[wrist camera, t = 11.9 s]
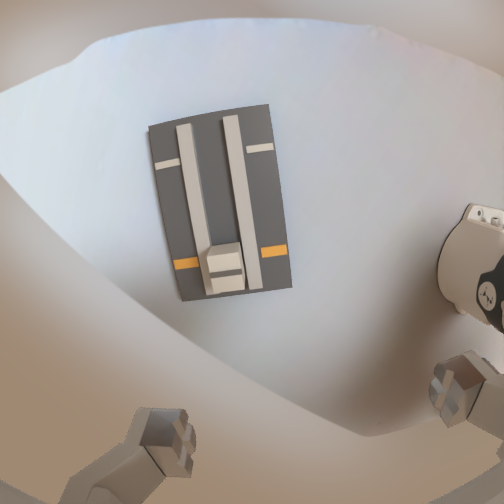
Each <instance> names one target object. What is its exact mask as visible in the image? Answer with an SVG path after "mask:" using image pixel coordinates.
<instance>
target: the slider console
mask: <svg viewBox="0 0 504 504" xmlns="http://www.w3.org/2000/svg"><path fill="white" fill-rule="evenodd" d="M148 127H149V134H150V142H151V149H152V156H153V162H154V168H155V175H156V181H157V186H158V192H159V198H160V203H161V208H162V214H163V219H164V224H165V229H166V234H167V238H168V243H169V248H170V252H171V257H172V261H173V266H174V270H175V274H176V278H177V282H178V286H179V291H180V295H181V298H182V301H191V300H200V299H209V298H217V297H225V296H233V295H241V294H249V293H256V292H263V291H271V290H278V289H285V288H291V287H292V279H291V269H290V260H289V251H288V242H287V234H286V225H285V217H284V209H283V201H282V193H281V186H280V178H279V171H278V164H277V157H276V150H275V143H274V136H273V130H272V123H271V117H270V111H269V104H265V105H257V106H249V107H242V108H235V109H229V110H223V111H217V112H211V113H206V114H201V115H196V116H191V117H186V118H181V119H177V120H172V121H168V122H164V123H160V124H156V125H152V126H148ZM236 242H240V247H241V253H242V259H243V265H244V272H245V289H244V290H237V291H229V292H221V293H214V291H213V287H212V282H211V279H210V275H209V273H210V272H209V267H208V262H207V255H208V252H209V250H210V248H211V246H215V245H222V244H229V243H236Z"/></svg>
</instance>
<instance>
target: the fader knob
mask: <svg viewBox="0 0 504 504" xmlns="http://www.w3.org/2000/svg"><path fill="white" fill-rule="evenodd" d="M207 262H208V267H209V272H210V273H209V275H210V279H211V282H212V287H213V291H214V293H221V292H229V291H237V290H244V289H245V272H244V265H243V259H242V253H241V247H240V242H236V243H229V244H222V245H215V246H211V248H210V250H209V252H208V255H207Z"/></svg>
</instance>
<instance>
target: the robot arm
mask: <svg viewBox="0 0 504 504" xmlns="http://www.w3.org/2000/svg"><path fill="white" fill-rule="evenodd" d="M438 283H439V287H440V290H441V292H442V294H443V296H444V297H445V298H446V299H447V300H449V301H451V302H452V303H454V304H455V307H456V309H457V311H458V312H459V313H460V314H462V315H465V314H467V313H468V314H470V315H471V316H473V317H474V318H476V319H478V320H479V321H481V322H482V323H484V324H486V325H490V324H491V325H493V326H494V328H495V329H496V330H498V331H499V332H502V333H503V334H504V211H503V210H499V209H495V208H491V207H487V206H482V205H478V204H470V205H469V206H468V208H467V209H466V212H465V214H464V216H463V219H462V220H461V222H460V223H459V224H458V225H457V226H456V228H455V229H454V230H453V231H452V232H451V234H450V235H449V237H448V238H447V240H446V242H445V244H444V246H443V249H442V252H441V255H440V259H439V264H438ZM434 375H435V376H436V377H435V378H434V379H433V380H432V382H431V383H430V387H429V397H430V400H431V403H432V404H433V406H434V407H435V408H438V409H440V410H441V411H440V417H441V418H442V420H443V421H444V423H445V424H446V426H447V427H448V428H449V427H452V426H454V425H456V424H458V423H461V422H463V421H465V420H467V421H469V422H470V423H472V424H474V425H476V426H477V427H479V428H481V429H483V430H485V431H487V432H488V433H490V434H492V435H494V436H496V437H498V438H500V439H502V440H504V374H501V373H500V374H498V375H497V374H496V373H495V372H494V371H493V370H492V369H491V368H490V367H489V366H488V365H487V364H486V363H485V362H484V361H483V360H482V359H481V358H480V357H479V356H478V355H477V354H476V353H475V352H474V351H468V352H466V353H463V354H461V355H459V356H456V357H454V358H451V359H449V360H446V361H443V362H441V363H438V364H437V365H436V367H435V369H434ZM187 421H188V415H187V413H186V410H184V409H161V408H139V409H138V410H137V411H136V413H135V415H134V418H133V421H132V423H131V426H130V428H129V430H128V433H127V435H126V439H125V441H124V443H123V444H122V443H119V444H118V445H116V446H115V447H113V448H112V449H111V450H109V451H108V452H107V453H105V454H104V455H102V456H101V457H99V458H98V459H97V460H95V461H94V462H92V463H91V464H89V465H88V466H87V467H85V468H84V469H82V470H81V471H79V472H78V473H76V474H75V475H73V476H72V477H70V478H69V481H68V483H67V485H66V487H65V489H64V492H63V494H62V496H61V498H60V501H59V503H58V504H142V503H143V501H144V500H145V499H146V498H147V497H148V496H149V495H150V494H151V493H152V492H153V491H154V490H155V489H156V488H157V487H158V486H159V485H160V484H161V483H162V482H163V480H164V479H165V478H166V477H184V478H191V473H192V467H193V460H192V458H191V454H193V453H194V452H195V448H196V435H195V431H194V428H193V426H192V425H191V424H190V423H188V422H187ZM496 454H497V455H498V457H499V458H500V460H501V462H500V463H498V464H497V465H495V466H494V467H492V468H491V469H489V470H487V471H486V472H484V473H483V474H481V475H479V476H478V477H476V478H474V479H473V480H471V481H469V482H468V483H466V484H464V485H462V486H460V487H458V488H457V489H455V490H453V491H451V492H449V493H447V494H445V495H443V496H441V497H439V498H436V499H434V500H432V501H430V502H428V503H425V504H504V441H503V443H502V444H501V445H500V447H499V448H498V450H497V453H496ZM0 504H47V503H45V502H43V501H41V500H39V499H37V498H35V497H33V496H30V495H28V494H27V493H25V492H23V491H21V490H19V489H17V488H15V487H13V486H12V485H10V484H8V483H6V482H5V481H3V480H1V479H0Z"/></svg>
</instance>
